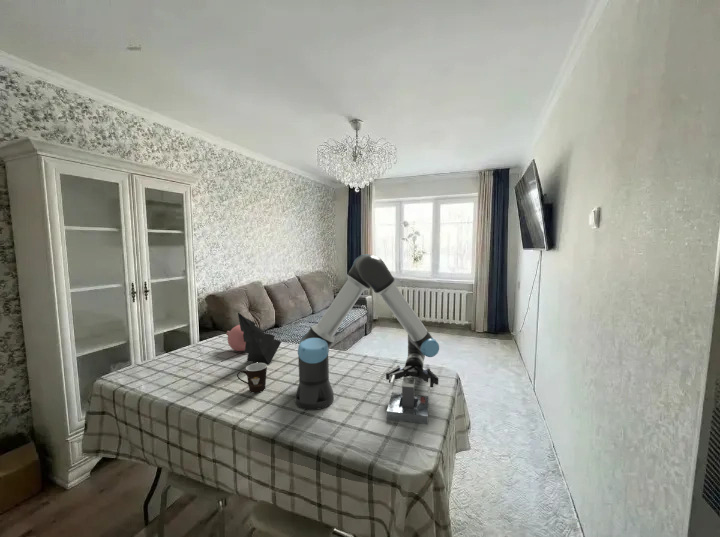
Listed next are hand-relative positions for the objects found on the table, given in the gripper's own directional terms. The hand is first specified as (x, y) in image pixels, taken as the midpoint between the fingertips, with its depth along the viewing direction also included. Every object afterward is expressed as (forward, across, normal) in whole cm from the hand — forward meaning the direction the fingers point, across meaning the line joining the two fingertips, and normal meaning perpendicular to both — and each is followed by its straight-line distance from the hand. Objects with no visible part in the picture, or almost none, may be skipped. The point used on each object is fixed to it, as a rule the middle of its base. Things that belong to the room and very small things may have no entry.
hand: (409, 387), depth 112 cm
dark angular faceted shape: (-28, +82, -9) cm, 87 cm away
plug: (0, 0, -8) cm, 8 cm away
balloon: (-44, +104, -9) cm, 113 cm away
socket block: (0, 0, -9) cm, 9 cm away
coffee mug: (-2, +66, -9) cm, 67 cm away
